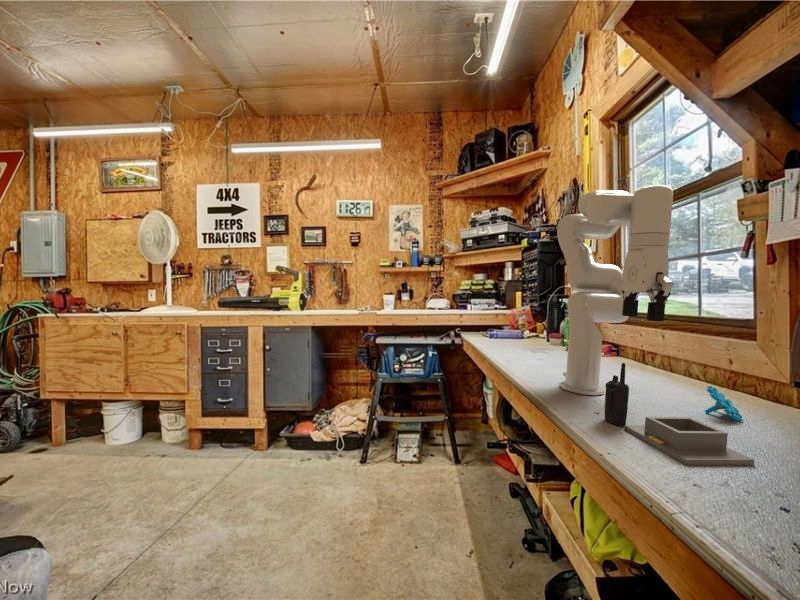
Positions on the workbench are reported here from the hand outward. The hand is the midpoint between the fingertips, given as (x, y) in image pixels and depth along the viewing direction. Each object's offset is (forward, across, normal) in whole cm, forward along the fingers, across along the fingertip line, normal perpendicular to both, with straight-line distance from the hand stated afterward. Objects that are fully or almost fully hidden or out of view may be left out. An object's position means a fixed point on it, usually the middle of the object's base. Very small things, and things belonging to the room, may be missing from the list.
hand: (641, 318), depth 81 cm
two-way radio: (+26, -3, -3) cm, 27 cm away
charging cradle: (+26, +8, +6) cm, 28 cm away
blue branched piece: (+27, -14, +31) cm, 43 cm away
